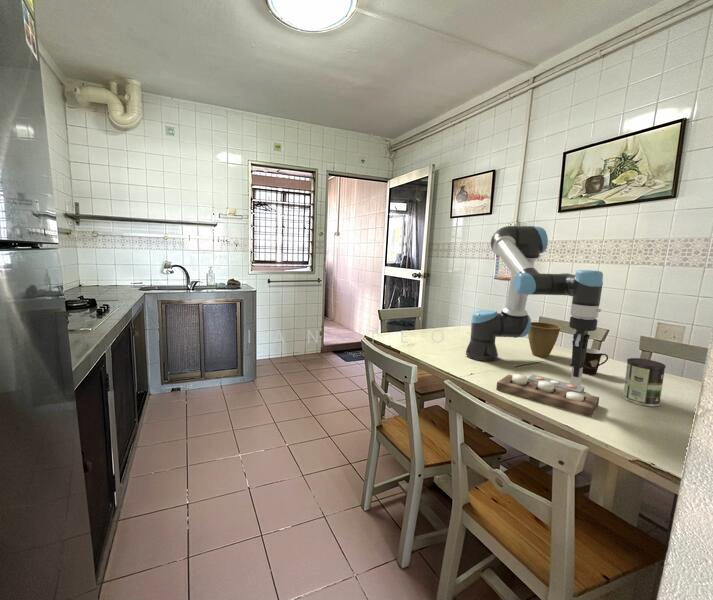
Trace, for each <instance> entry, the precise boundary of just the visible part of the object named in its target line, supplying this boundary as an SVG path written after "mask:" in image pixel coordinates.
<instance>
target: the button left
mask: <svg viewBox="0 0 713 600" xmlns="http://www.w3.org/2000/svg"><path fill="white" fill-rule="evenodd" d="M511 375H512V383H514V384H517V385H527V379H528V377H527V376H525V375H524V374H520V373H519V374H518V373H517V374H515V373H514V374H511Z"/></svg>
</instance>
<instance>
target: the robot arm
mask: <svg viewBox="0 0 713 600" xmlns="http://www.w3.org/2000/svg"><path fill="white" fill-rule="evenodd" d="M548 243H549V237H548V234H547V231H546V229H544V228H543V227H541V226H535V225H507V226H506V225H505V226H504V227H500V228H499V229H497V230H496V231H495V232H494V234H493V235H492V237H491V239H490V248H491V250H492V252H493V253H494V254H495V255H496V256H497V257H500V259H501V261H502V262H503V263H504V265H505V266H506V267H507V268H508V270H509V272H510V274H511V275H510V279H509V280H510V281H509V285H508V286H509V287H508V291H507V297H506V303H505V306H503V307H502V308H501V313H498V311H497V310H493V309H483V310H481V309H480V310H477V311H474V312H473V313H472V316H471V325H470V327H471V328H470V339H469V343H468V346H467V348H466V350H465V356H466V355H467V356H468V357H467V356H466V357H467V358H469V357H470V358H469V359H471V358H473V359H472V360H475V359H477V360H476V361H480V360H483V362H495V361H497V360H498V359H499V353H498V349H497V345H496V339H497V338H514V339H515V338H525V337H526V336H528V332H529V330H530V327H531V323H530V322H532V320H531V317H530V315H529V314H528V311H527V310H526V306H527V300H528V296H530V295H531V296H534V295H536V296H537V295H538V296H539V295H542V296H543V295H545V296H548V295H549V296H567V297H568V296H569V297H572V301H571V306H570V315H571V316H570V318H569V325H568V326H569V328H570V329H573V330H576V332H575V333H574V334H572V335H573V336H572V337H573V340H572V341H571V343H572V354H571V363H569V367H572V368H571V375H570V377H571V378H570V382H569V383H570V385H574V386H578V387H580V386H582V377H583V373H582V370H583V367H586V365H584V364H583V363H585V356H586V350H587V348H588V344H589V340H590V337H591V335H590V334H589V332H594V331H597V327H598V321H599V320H598V319H597V318H598V317H599V312H602V309H601V308H600V305H601V297H602V291H603V285H604V281H603V279H604V273H603V271H600V270H591V269H589V270H588V269H578V270H576V271H575V274H572V273H569V272H567V273H564V272H563V273H540V272H539V271H538V270H537V269H536V268H535V267H534V266H535V261H536V260H538V259H540V254H542V253H545V252H546V250H547V249H548V245H549V244H548ZM494 360H495V361H494Z"/></svg>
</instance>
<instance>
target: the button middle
mask: <svg viewBox="0 0 713 600" xmlns="http://www.w3.org/2000/svg"><path fill="white" fill-rule="evenodd" d="M538 390H540V391H543V392H547V393H552V392H554V384H553V383H552V382H548V381H538Z"/></svg>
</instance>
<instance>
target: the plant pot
mask: <svg viewBox="0 0 713 600" xmlns="http://www.w3.org/2000/svg"><path fill="white" fill-rule="evenodd" d="M530 323H531V327H530V330H529V332H528V334H527V336H528V342H529V348H530V350H531V354H532V355H533V356H535V357H539V356H540V357H541V358H549V356H550V354H551V353H552V351H553V349H554V346H555V345H556V342H557V340H558V337H559V334H560V331H561V328H562V327H561V326H560V325H557V324H554V323H549V322H540V321H531V322H530ZM540 357H539V358H540Z"/></svg>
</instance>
